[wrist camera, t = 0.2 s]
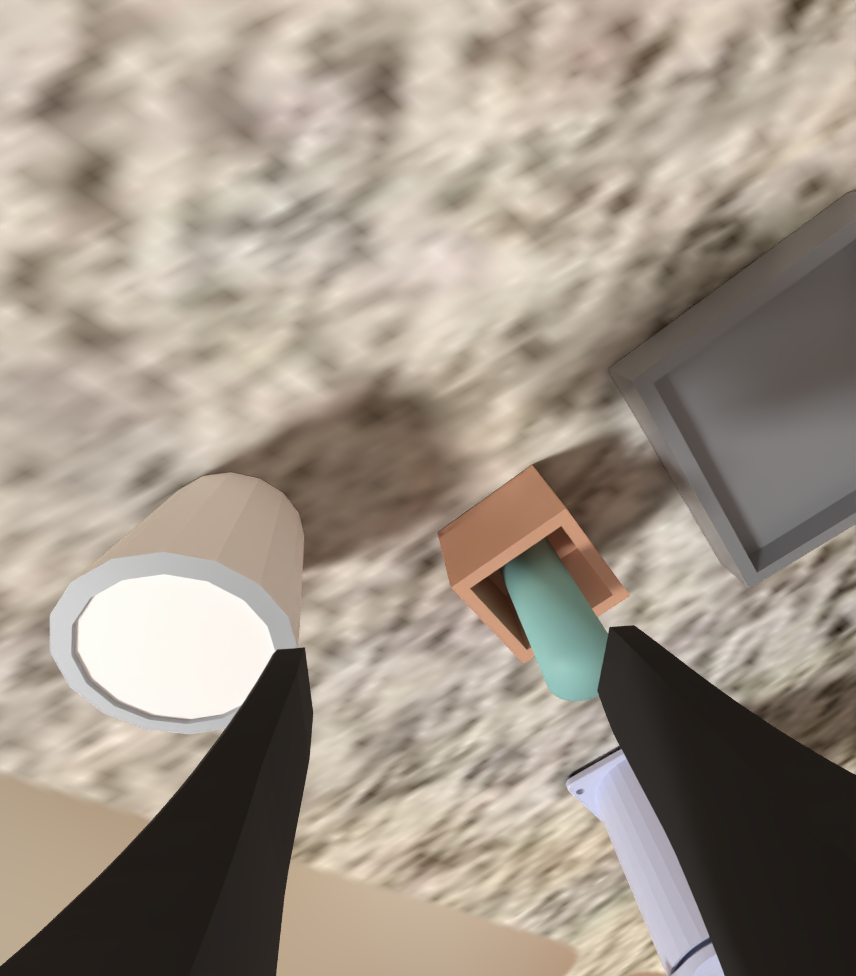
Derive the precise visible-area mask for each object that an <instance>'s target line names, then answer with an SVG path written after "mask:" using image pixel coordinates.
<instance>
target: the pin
mask: <svg viewBox="0 0 856 976" xmlns="http://www.w3.org/2000/svg"><path fill="white" fill-rule="evenodd" d="M499 571H500V573H501V575H502V578H503V580H504V583H505V585H506V587H507V590H508V592H509V595H510V597H511V599H512V602H513V604H514V607H515V609H516V611H517V614H518V616H519V619H520V621H521V624H522V626H523V628H524V631H525V633H526V636H527V638H528V640H529V643H530V645H531V648H532V650H533V652H534V655H535V657H536V660H537V662H538V664H539V667H540V669H541V672H542V674H543V676H544V679H545V681H546V684H547V686H548V688H549V690H550V691H551V692H552V693H553V694H554V695H555V696H557V697H559V698H561V699H564V700H568V701H583V700H588V699H591V698H594V697H597V696H599V694H598V691H597V689H598V684H599V679H600V674H601V669H602V664H603V659H604V653H605V648H606V643H607V638H608V633H607V632H606V630H605V629H604V627H603V625H602V624H601V622H600V621H599V619H598V618H597V616H596V614H595V613H594V611H593V610H592V608H591V606H590V605H589V603H588V602H587V600H586V599H585V597H584V595H583V594H582V592H581V591H580V589H579V588H578V586H577V584H576V583H575V581H574V580H573V578H572V576H571V575H570V573H569V572H568V570H567V569H566V567H565V565H564V564H563V562H562V561H561V559H560V558H559V556H558V554H557V553H556V551H555V550H554V548H553V547H552V545H551V543H550V542H549V540H548V539H547V537H544V538H543V539H542V540H540V541H539V542H537V543H536V544H534V545H533V546H531V547H530V548H528V549H527V550H525V551H524V552H522V553H521V554H520V555H518V556H517V557H515V558H514V559H512V560H511V561H509V562H508V563H506V564H505V565H503V566H502V567H500V568H499Z"/></svg>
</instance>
